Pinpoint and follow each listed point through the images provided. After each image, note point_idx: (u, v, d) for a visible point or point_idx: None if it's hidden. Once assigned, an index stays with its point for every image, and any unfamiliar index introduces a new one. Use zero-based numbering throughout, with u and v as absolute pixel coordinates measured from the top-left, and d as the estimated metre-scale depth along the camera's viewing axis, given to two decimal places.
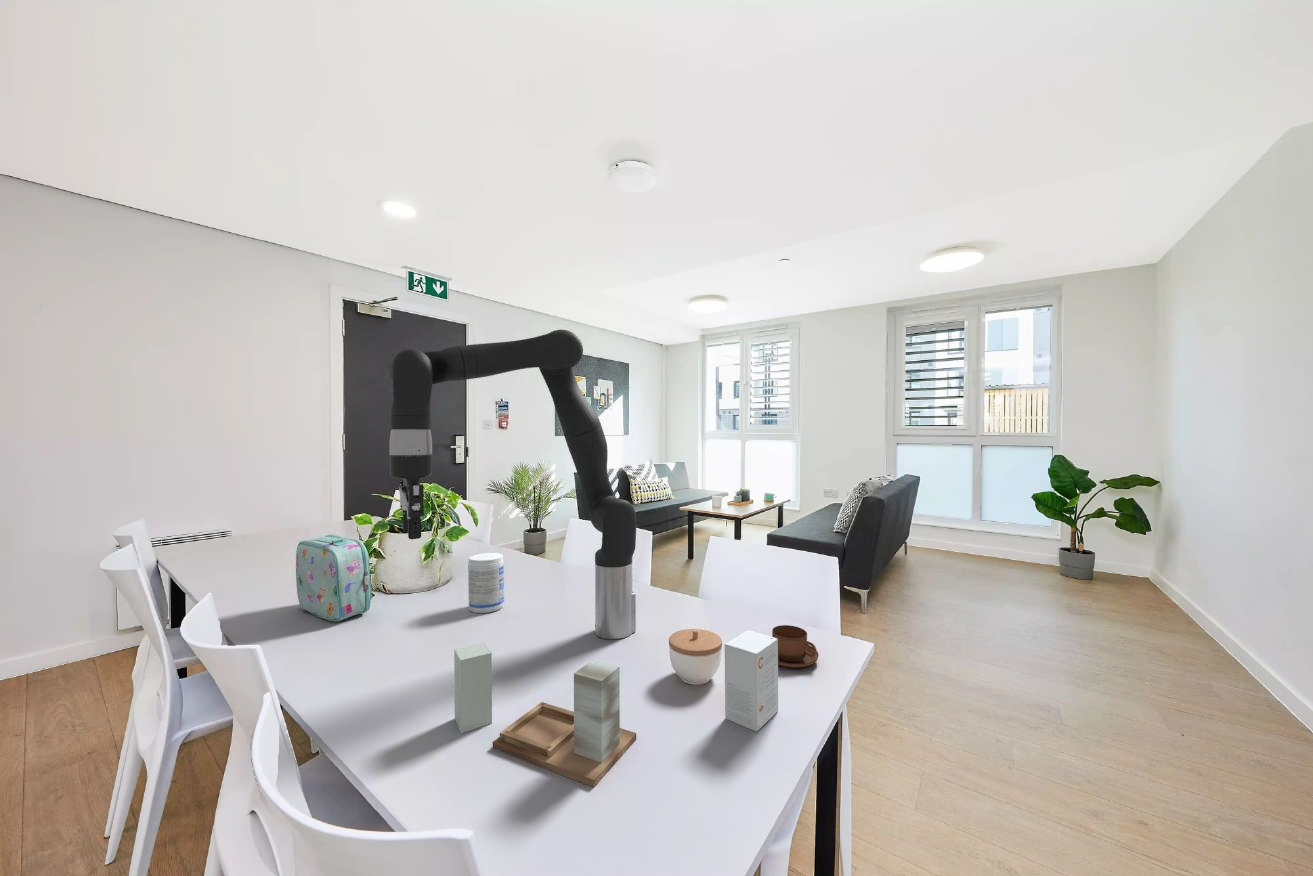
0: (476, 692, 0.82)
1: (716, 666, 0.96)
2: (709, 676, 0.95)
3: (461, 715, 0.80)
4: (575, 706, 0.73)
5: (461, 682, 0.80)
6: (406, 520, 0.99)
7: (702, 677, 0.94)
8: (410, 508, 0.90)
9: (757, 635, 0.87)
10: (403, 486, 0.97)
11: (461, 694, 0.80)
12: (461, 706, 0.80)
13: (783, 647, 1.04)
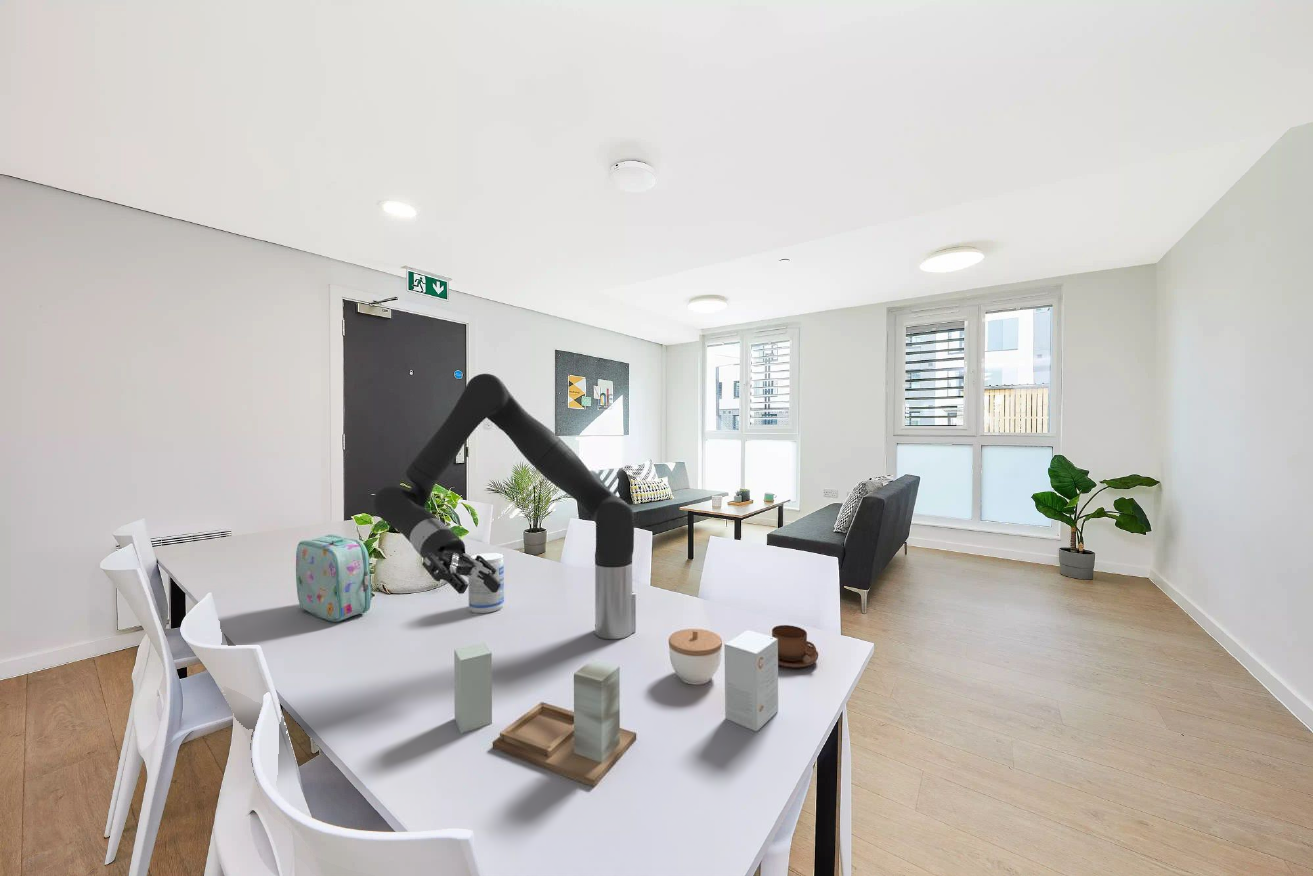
0: (476, 692, 0.82)
1: (716, 666, 0.96)
2: (709, 676, 0.95)
3: (461, 716, 0.80)
4: (575, 706, 0.73)
5: (461, 682, 0.80)
6: (488, 584, 0.99)
7: (702, 677, 0.94)
8: (431, 575, 0.91)
9: (757, 635, 0.87)
10: None
11: (461, 694, 0.80)
12: (461, 706, 0.80)
13: (783, 647, 1.04)
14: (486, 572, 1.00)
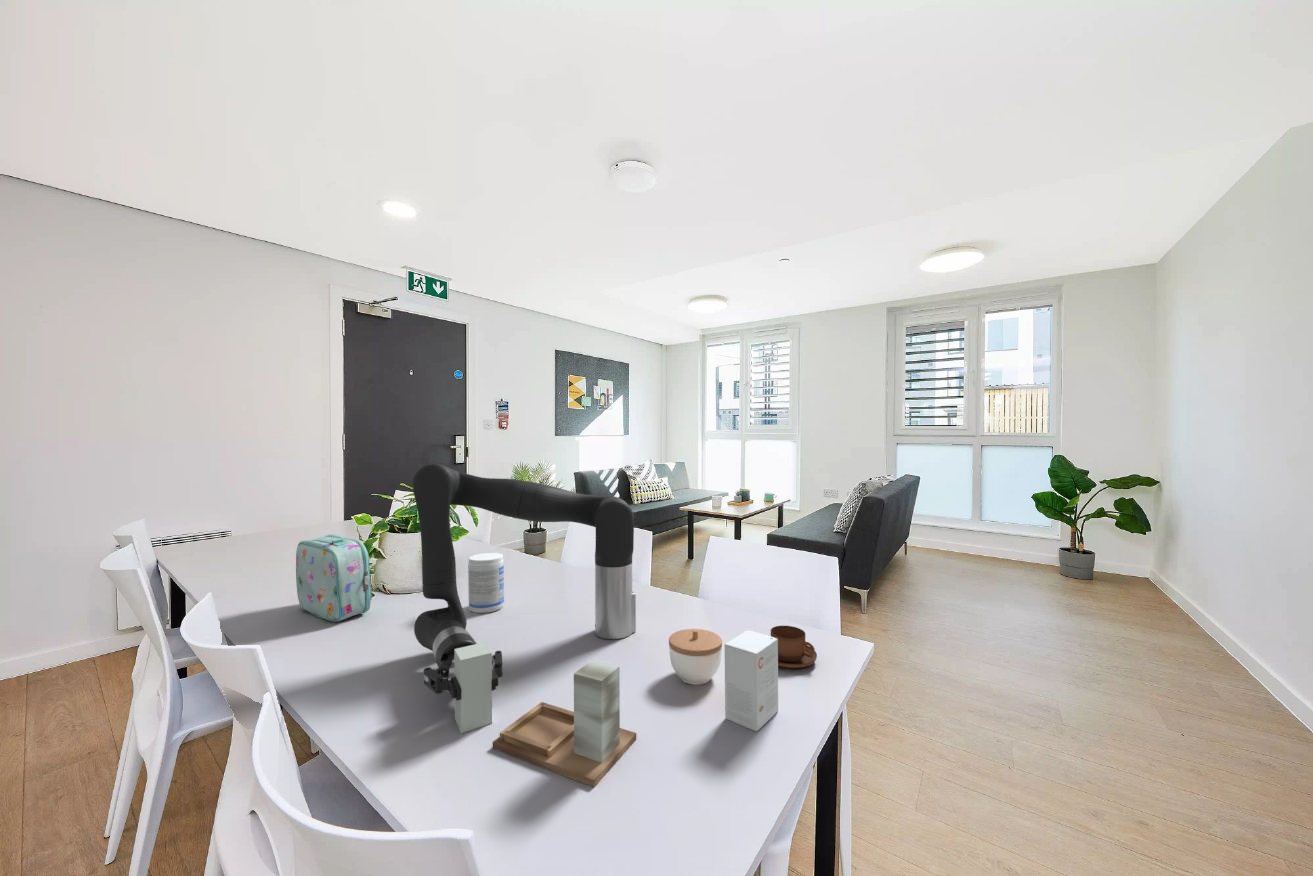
0: (476, 692, 0.82)
1: (716, 666, 0.96)
2: (709, 676, 0.95)
3: (461, 715, 0.80)
4: (575, 706, 0.73)
5: (461, 682, 0.80)
6: None
7: (702, 677, 0.94)
8: (432, 690, 0.83)
9: (757, 635, 0.87)
10: None
11: (461, 694, 0.80)
12: (461, 706, 0.80)
13: (782, 647, 1.04)
14: None
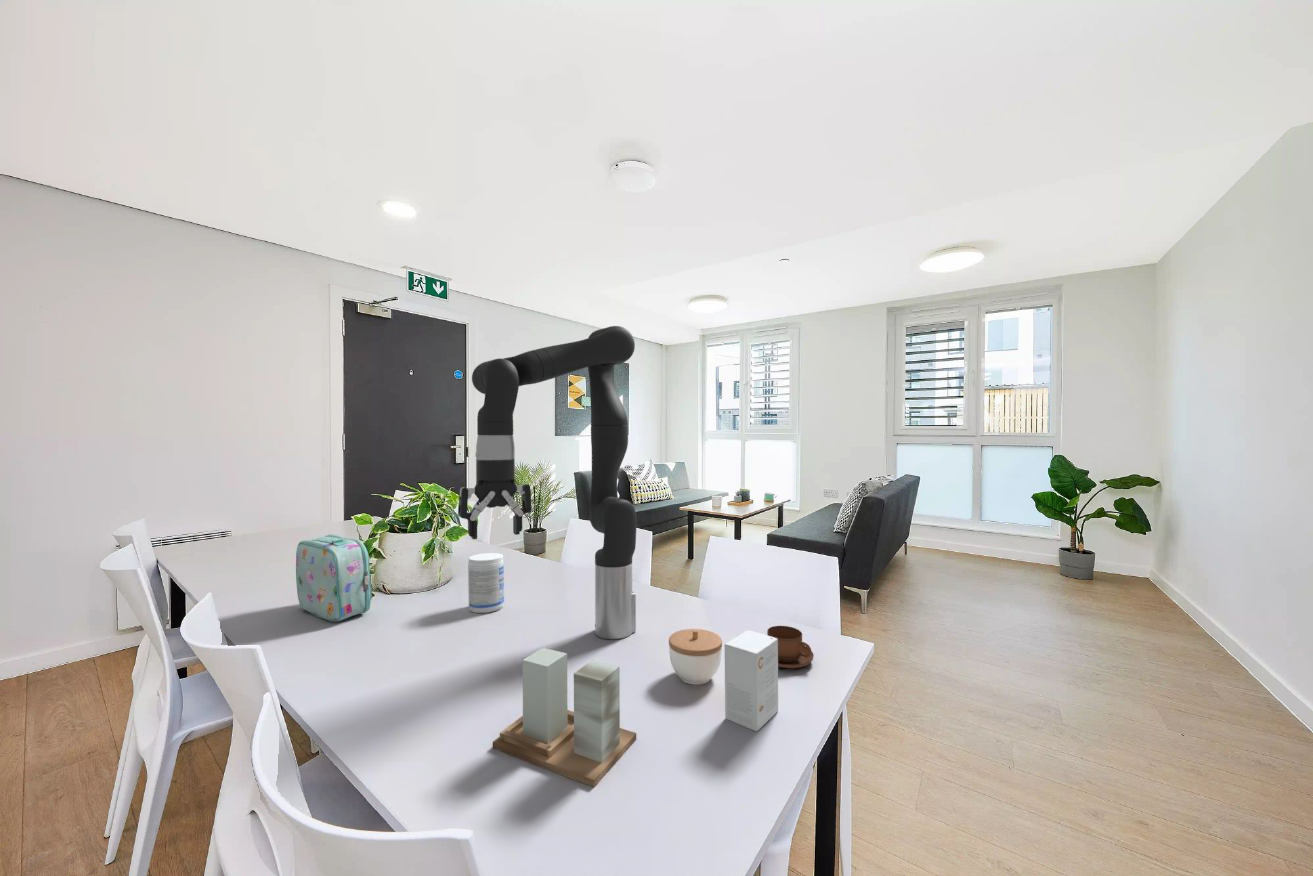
0: (557, 697, 0.78)
1: (716, 666, 0.96)
2: (709, 676, 0.95)
3: (547, 725, 0.76)
4: (575, 706, 0.73)
5: (547, 689, 0.76)
6: (514, 522, 1.03)
7: (702, 677, 0.94)
8: (458, 508, 0.98)
9: (757, 635, 0.87)
10: None
11: (547, 702, 0.76)
12: (547, 715, 0.76)
13: (778, 647, 1.03)
14: (516, 514, 1.02)
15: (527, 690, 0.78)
